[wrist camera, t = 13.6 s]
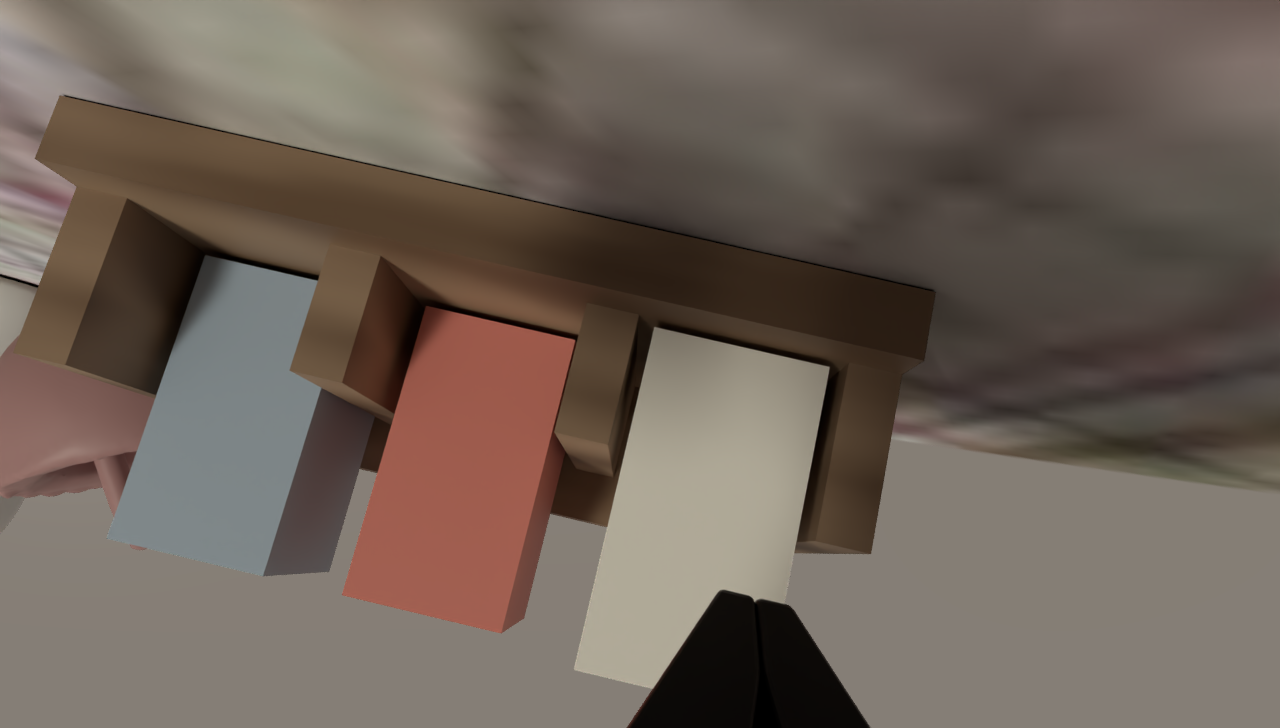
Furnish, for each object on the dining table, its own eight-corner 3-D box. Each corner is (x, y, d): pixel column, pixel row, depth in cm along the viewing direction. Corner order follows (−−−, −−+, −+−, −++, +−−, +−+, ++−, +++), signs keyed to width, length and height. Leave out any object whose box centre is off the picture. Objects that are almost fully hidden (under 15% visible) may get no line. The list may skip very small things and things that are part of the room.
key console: (59, 95, 19) (-46, 360, 18) (935, 292, 19) (886, 579, 18) (279, 271, 32) (224, 436, 30) (813, 394, 31) (779, 567, 30)
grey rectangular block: (204, 255, 24) (106, 538, 22) (352, 288, 24) (263, 575, 22) (277, 305, 29) (200, 540, 27) (399, 333, 28) (329, 571, 27)
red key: (426, 306, 23) (341, 595, 22) (575, 340, 23) (500, 633, 22) (460, 348, 28) (393, 587, 27) (584, 376, 28) (524, 618, 27)
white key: (654, 326, 20) (573, 669, 19) (829, 367, 20) (762, 715, 18) (648, 370, 25) (584, 645, 24) (789, 403, 25) (734, 681, 23)
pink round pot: (337, 353, 48) (271, 566, 46) (109, 296, 47) (30, 511, 45) (284, 298, 37) (192, 580, 34) (-21, 221, 35) (-137, 507, 33)
